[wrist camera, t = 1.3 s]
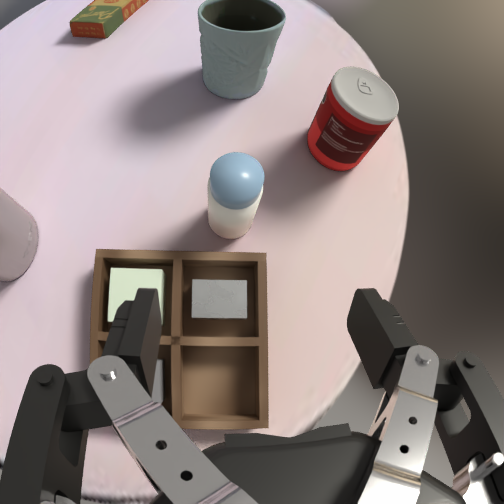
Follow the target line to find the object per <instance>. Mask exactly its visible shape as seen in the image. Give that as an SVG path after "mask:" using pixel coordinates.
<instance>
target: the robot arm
mask: <svg viewBox="0 0 504 504" xmlns="http://www.w3.org/2000/svg"><path fill="white" fill-rule="evenodd" d="M37 246H38V228H37V224H36V221H35V220H34V218H33V216H32V215H31V214H30V213H29V212H28V211H27V210H26V209H24V208H23V207H22V206H21V205H20V204H18V203H17V202H16V201H15V200H14V199H13V198H12V197H10V196H9V195H8V194H7V193H6V192H5V191H3V190H2V189H1V188H0V281H5V282H7V281H12V280H14V279H16V278H18V277H20V276H21V275H22V274H23V273H24V272H25V271H26V270H27V269H28V267H29V266H30V264H31V262H32V261H33V258H34V256H35V253H36V250H37ZM347 328H348V332H349V334H350V336H351V338H352V341H353V343H354V345H355V347H356V350H357V352H358V354H359V356H360V359H361V361H362V363H363V365H364V368H365V370H366V372H367V375H368V377H369V379H370V382H371V384H372V386H373V389H378V388H384V389H385V393H384V395H383V397H382V400H381V403H380V405H379V408H378V411H377V413H376V416H375V418H374V421H373V423H372V426H371V428H370V430H369V432H368V434H363V433H359V432H354V431H350V428H349V424H348V423H346V424H340V425H333V426H326V427H320V428H317V429H314V430H312V431H309V432H306V433H303V434H300V435H297V436H295V437H290V438H289V437H280V436H273V435H266V434H259V433H247V434H225V442H223V443H219V444H216V445H213V446H211V447H209V448H206V449H204V450H203V451H201V450H200V449H199V448H198V447H197V446H196V445H195V444H194V443H193V442H192V440H191V439H190V438H189V437H188V436H187V435H186V434H185V432H184V431H183V430H182V429H181V428H180V427H179V425H178V424H177V423H176V422H175V421H174V419H173V418H172V417H171V416H170V414H169V413H168V412H167V411H166V410H165V408H164V407H163V406H162V405H161V404H160V403H159V402H156V403H155V402H154V401H153V400H152V391H153V384H154V377H155V370H156V364H157V357H158V351H159V345H160V339H161V332H162V319H161V311H160V303H159V295H158V290H157V288H138V290H137V293H136V296H135V299H134V301H132V300H125V301H124V302H123V303H122V304H121V305H120V306H119V307H118V308H117V311H116V314H115V317H114V320H113V322H112V325H111V328H110V331H109V334H108V337H107V340H106V343H105V346H104V349H103V352H102V355H101V357H99V358H97V359H96V360H94V361H93V362H92V363H91V364H90V365H89V367H88V369H87V370H84V371H80V372H74V373H67V374H64V372H63V370H62V369H61V368H60V367H58V366H56V365H52V364H47V365H42V366H40V367H38V368H37V369H35V370H34V371H33V372H32V374H31V375H30V377H29V380H28V383H27V386H26V389H25V392H24V394H23V397H22V400H21V404H20V407H19V410H18V413H17V416H16V420H15V423H14V427H13V430H12V434H11V437H10V441H9V445H8V449H7V453H6V457H5V461H4V466H3V470H2V475H1V480H0V504H80V499H81V487H82V477H83V468H84V460H85V452H86V445H87V438H88V431H89V429H93V428H99V427H105V426H111V425H112V427H113V429H114V430H115V432H116V433H117V435H118V437H119V438H120V440H121V441H122V443H123V444H124V446H125V447H126V449H127V450H128V452H129V453H130V455H131V456H132V458H133V459H134V461H135V462H136V464H137V465H138V467H139V468H140V470H141V471H142V472H143V474H144V475H145V477H146V478H147V479H148V481H149V482H150V483H151V485H152V486H153V487H154V489H155V490H156V491H157V492H158V495H157V496H156V497H155V498H154V499H153V500H152V501H151V502H150V503H149V504H504V399H503V397H502V395H501V394H500V392H499V390H498V388H497V386H496V385H495V383H494V381H493V380H492V378H491V377H490V375H489V373H488V371H487V370H486V368H485V366H484V365H483V363H482V362H481V360H480V359H479V358H478V357H477V356H476V355H475V354H473V353H471V352H468V351H461V352H459V353H458V354H457V355H456V357H455V358H454V360H446V359H438V357H437V355H436V354H435V352H434V351H432V350H431V349H429V348H428V347H425V346H421V345H418V343H417V342H416V340H415V339H414V337H413V335H412V334H411V332H410V331H409V329H408V327H407V326H406V324H404V321H403V320H402V318H401V317H400V316H399V313H398V312H397V311H396V309H395V307H394V306H393V305H391V304H390V303H389V302H388V301H387V300H385V299H384V300H382V298H381V297H380V295H379V293H378V292H377V290H376V289H374V288H366V289H357V290H356V292H355V294H354V298H353V301H352V304H351V308H350V311H349V314H348V317H347ZM463 397H464V399H465V401H466V403H467V405H468V407H469V409H470V411H471V419H470V422H469V420H468V418H467V416H466V414H465V412H464V410H463V408H462V406H461V404H460V401H461V400H462V399H463ZM434 424H435V426H436V428H437V431H438V433H439V436H440V438H441V440H442V443H443V446H444V448H445V451H446V454H447V456H448V459H449V462H450V464H451V467H452V470H453V472H454V475H455V476H454V478H453V486H452V487H451V488H450V487H449V486H447V485H446V484H444V483H442V482H441V481H439V480H438V479H436V478H434V477H432V476H431V475H430V474H428V473H427V472H425V471H423V470H422V468H423V464H424V461H425V457H426V454H427V449H428V446H429V442H430V438H431V434H432V429H433V425H434Z"/></svg>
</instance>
